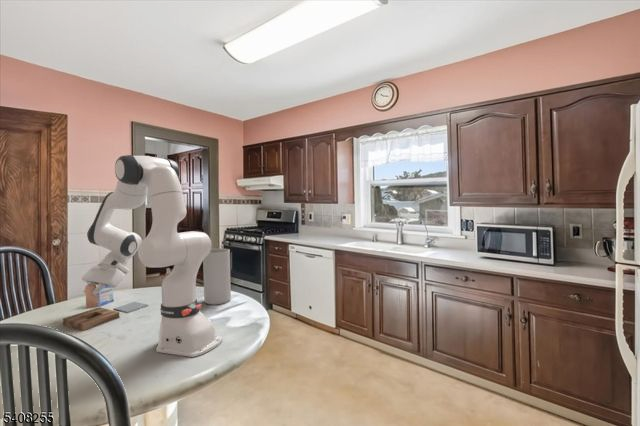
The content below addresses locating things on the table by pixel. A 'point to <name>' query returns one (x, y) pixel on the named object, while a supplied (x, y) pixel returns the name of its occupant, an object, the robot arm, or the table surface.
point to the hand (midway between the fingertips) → (89, 293)
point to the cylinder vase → (217, 277)
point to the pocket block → (90, 318)
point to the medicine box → (105, 296)
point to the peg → (90, 297)
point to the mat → (130, 307)
